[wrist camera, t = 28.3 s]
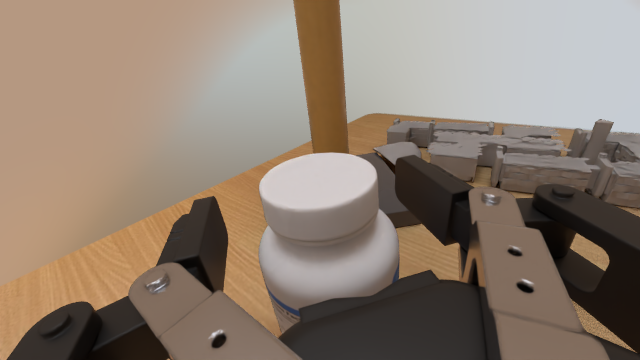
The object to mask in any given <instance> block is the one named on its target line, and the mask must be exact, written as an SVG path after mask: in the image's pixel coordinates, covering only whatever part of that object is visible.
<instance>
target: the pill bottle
mask: <svg viewBox="0 0 640 360" xmlns="http://www.w3.org/2000/svg"><path fill="white" fill-rule="evenodd" d="M259 193H260V197H261V201H262V205H263V209H264V216H265V219H266V222H267V224H268V226H267V228H266V230H265V231H264V233H263V236H262V238H261V241H260V246H259V263H260V267H261V271H262V274H263V278H264V281H265V284H266V287H267V290H268V293H269V296H270V299H271V302H272V305H273V308H274V312H275V314H276V317H277V320H278V324H279V327H280V330H281V332H282V334H283V333H284V332H285V331H286V330H287V329H288V328H290V327H291V326H292V325H294V324H295V323H297V322H299V321H300V320H301V319H300V314H299V308H302V307H305V306H309V305H312V304H316V303H319V302H322V301H326V300H329V299H333V298H348V297H365V296H372V295H374V294H376V293H377V292H379V291H381V290H382V289H384V288H386V287H387V286H389V285H391V284H392V283H394V282H396V281H397V280H399V240H398V235H397V232H396V229H395V227H394V225H393V223H392V222H391V220H390V219H389V218H388V216H387V215H386V214H385V213H384V212H383V211H381V210H380V209H379V198H378V179H377V172H376V170H375V168H374V166H373V165H372V164H371V163H370V162H368V161H367V160H365V159H363V158H361V157H358V156H355V155H350V154H345V153H316V154H310V155H305V156H301V157H297V158H294V159H291V160H288V161H285V162H283V163H281V164H279V165H277V166H276V167H274V168H273V169H271V170H270V171H269V172H268V173H266V175H265V176H264V177H263V178H262V180H261V182H260V186H259Z"/></svg>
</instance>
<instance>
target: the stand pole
mask: <svg viewBox="0 0 640 360" xmlns="http://www.w3.org/2000/svg"><path fill="white" fill-rule="evenodd" d="M293 1H294V8H295V16H296V23H297V30H298V39H299V46H300V54H301V62H302V69H303V77H304V85H305V92H306V100H307V108H308V115H309V123H310V130H311V138H312V146H313V153H314V154H316V153H345V154H349V146H348V131H347V115H346V100H345V83H344V68H343V52H342V37H341V21H340V5H339V0H293Z"/></svg>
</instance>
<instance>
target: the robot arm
mask: <svg viewBox="0 0 640 360" xmlns="http://www.w3.org/2000/svg"><path fill="white" fill-rule="evenodd" d="M395 193H396V196H397V198H398V200H399V201H400V202H401V203H402V204H403V205H404V206H405V207H406V208H407V209H408V210H409V211H410V212H411V213H412V214H413V215H414V216H415V217H416V218H417V219H418V220H419V221H420V222H421V223H422V224H423V225H424V226H425V227H426V228H427V229H428V230H429V231H430V232H431V233H432V234H433V235H434V236H435V237H436V238H437V239H438V240H439V241H440V242H441V243H442V244H443V245H444V246H446V245H450V244H454V243H459V250H458V259H459V281H455V280H439V279H438V278H437V277H436V275H435V274H434V273H433V272H432V271H431V270H428V271H424V272H421V273H418V274H414V275H411V276H407V277H404V278H401V279H399V280H397V281H396V282H394V283H392V284H391V285H389V286H387V287H386V288H384V289H382V290H381V291H379V292H377V293H376V294H374V295H372V296H365V297H348V298H333V299H329V300H326V301H322V302H319V303H316V304H312V305H309V306H305V307H302V308H299V314H300V319H301V320H300V321H299V322H297V323H295V324H294V325H292V326H291V327H290V328H288V329H287V330H286V331H285V332H284V333H283V334H282V335H281V336H280V337H279V338H277V337H276V336H274V335H273V334H272V333H271V332H270V331H268V330H267V329H266V328H265V327H264V326H263V325H261V324H260V323H259V322H258V321H257V320H255V319H254V318H253V317H252V316H251V315H249V314H248V313H247V312H246V311H245V310H244V309H242V308H241V307H240V306H239V305H238V304H236V303H235V302H234V301H233V300H232V299H231V298H229V297H228V296H227V295H226V294H225V293H223V288H224V278H225V268H226V258H227V248H228V234H227V229H226V226H225V223H224V220H223V217H222V214H221V211H220V208H219V205H218V202H217V200H216V198H215V197H214V196H212V197H207V198H202V199H198V200H194V202H193V205H192V208H191V211H190V213H189V214H185V215H182V216H181V217H180V218H179V219H178V220H177V221H176V222H175V223H174V225H173V227H172V230H171V232H170V235H169V237H168V239H167V242H166V244H165V246H164V249H163V251H162V253H161V256H160V258H159V260H158V263H157V265H156V266H155V267H153V268H151V269H150V270H148V271H146V272H145V273H143V274H142V275H141V276H139V277H138V278H137V279H136V280H135V282H134V283H133V284H132V286H131V287H130V289H129V293H128V296H126V297H124V298H122V299H120V300H118V301H116V302H114V303H112V304H110V305H108V306H105V307H103V308H101V309H99V310H97V311H95V310H94V308H93V307H92V306H91V304H89V303H88V302H75V303H71V304H68V305H66V306H63V307H61V308H59V309H57V310H55V311H53V312H52V313H50V314H48V315H47V316H45V317H44V318H42V319H41V320H40V321H38V322H37V323H36V324H35V325H34V326H33V327H32V328H31V329H30V330H29V331H28V332H27V333H26V334H25V335H24V337H23V338H22V339H21V341H20V342H19V343H18V345H17V346H16V348H15V349H14V350H13V352H12V353H11V354H10V356H9V357H8V359H7V360H167V359H168V358H169V359H170V360H640V217H638V216H636V215H634V214H631V213H629V212H627V211H625V210H623V209H620V208H618V207H616V206H614V205H612V204H609V203H607V202H605V201H603V200H600V199H598V198H596V197H594V196H592V195H589V194H587V193H585V192H583V191H580V190H578V189H576V188H573V187H569V186H565V185H559V184H543V185H540V186H538V187H537V188H536V191H535V194H534V197H533V198H516V199H515V197H514V196H513V195H512V194H510V193H509V192H507V191H504V190H502V189H498V188H494V187H476V188H474V187H472V186H471V185H469V184H467V183H466V182H464V181H463V180H461V179H459V178H458V177H456V176H453V174H451V173H449V172H446V170H444V169H443V168H441V167H439V166H437V165H434V164H431V163H427V162H426V161H424V160H423V159H421V158H419V157H418V156H416V155H409V156H404V157H400V158H397V160H396V164H395ZM576 233H578V234H580V235H581V236H583V237H585V238H586V239H588V240H590V241H592V242H593V243H595V244H597V245H598V246H600V247H601V248H603V249H604V250H605V251H606V253H607V254H608V256H609V260H610V262H609V265H608V267H607V269H606V271H603V270H602V269H600V268H599V267H597V266H596V265H594V264H593V263H591V262H590V261H588V260H587V259H585V258H584V257H582V256H581V255H579V254H578V253H576V252H574V251H573V250H571V249H570V246H571V244H572V241H573V239H574V237H575V235H576ZM570 298H571V299H572V300H573V301H575V302H576V303H577V304H578V305H580V306H581V307H582V308H583V309H584V310H586V311H587V312H588V313H589V314H591V315H592V316H593V317H594V318H595V319H597V320H598V321H599V322H600V323H602V324H603V325H604V326H605V327H606V328H608V329H609V330H610V331H611V332H613V333H614V334H615V335H616V336H617V337H619V338H620V339H621V340H622V341H624V342H625V343H626V344H627V345H628V346H630V347H631V348H632V349H633V350H635V351H636V352H637V353H636V352H633V351H631V350H629V349H626V348H624V347H621V346H619V345H617V344H614V343H612V342H610V341H607V340H605V339H602V338H600V337H598V336H595V335H593V334H591V333H588V332H586V330H585V329H584V328H583V326H582V324H581V322H580V320H579V317H578V315H577V313H576V311H575V308H574V306H573V304H572V302H571V299H570Z"/></svg>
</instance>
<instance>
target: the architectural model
mask: <svg viewBox="0 0 640 360" xmlns="http://www.w3.org/2000/svg"><path fill="white" fill-rule="evenodd" d="M445 123H446V124H445ZM613 123H614V122H610V121H606V120H602V119H600V120H598V121H596V122H595V125H594V127H593V130H592V132H591V131H588V132H584V131H583V130H582V129H578V128H577V129H575V131H574V134H573V137H572V140H571V143H570V145H569V148H568V149H565V148H564V147H562V146H566V145H563V144H560V143H564V142H562V141H561V140H558V139H556V140H554V139H551V137H552V136H556V137H557V136H561V135H557V134H558V133H555V132H557V130H554V128H550V127H546V128H544V127H542V126H540V127H536V126H532V127H528V128H526V126H523V127H520V126H515V127H513V125H510V126H506V127H502V128H503V130H502V135H501V136H500V135H493V132H494V122H489V126H486V125H488V124H478V123H470V124H468V123H458V124H456V122H455V123H449V122H440V123H437V125H435V120H432V121H431V122H427V123H424V122H419V121H416V122H415V121H413V122H411V121H403V122H400V119H396V120H395V121H394V125H392V126H391V127H389V129H387V130H388V131H387V132H388V133H387V145H384V146H380V147H376V148H373V150H374V151H376V152H378V153H379V154H381V155H382V156H384V157H385V158H387V159H388V160H390V161H391V162H392V163H393V164H394V165H395V164H396V160H397V158H400V157H404V156H409V155H416V156H418V157H419V158H421V152H420V150H419V148H418V147H417V146H420V147H428V149H431V150H426V151H427V152H429V153H432V154H431V164H434V165H437V166H439V167H441V168H443V169H444V170H446V172H449V173H451V174H453V176H456V177H458V178H459V179H461V180H466V181H469V180H471V179H472V177H473V180H472V182H473V181H474V176H475V171H476V166H477V165H482V166H492V171H491V182H492V186H494V187H496V184H497V183H498V180H499V184H500V189H503V190H511V191H519V192H527V193H535V191H536V188H537V187H538V186H540V185H543V184H559V185H565V186H569V187H573V188H576V189H578V190H580V191H583V192H584V190H585V188H586V190H587V192H588V193H592V196H594V197H596V198H598V199H599V196H600V197H601V199H602V200H603V201H605V202H607V203H609V204H612V205H620V206H628V207H636V208H640V135H638V136H635V135H636V134H638V133H635V134H634V133H629V134H626V133H623V132H620V133H616V132H615V133H611V132H610V130H611V128H612V125H613ZM541 128H542V129H541ZM550 130H553V131H550ZM609 133H610V134H609ZM554 134H556V135H554ZM611 134H614V135H611ZM616 134H618V135H616ZM622 134H625V135H622ZM551 135H552V136H551ZM497 137H498V138H497ZM550 140H552V141H550ZM427 144H428V146H427ZM432 144H433V145H432ZM556 144H559V145H556ZM433 148H434V149H433ZM561 149H564V151H567V152H568V154H567V156H566V157H562V156H560V153H561V152H560V150H561Z"/></svg>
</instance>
